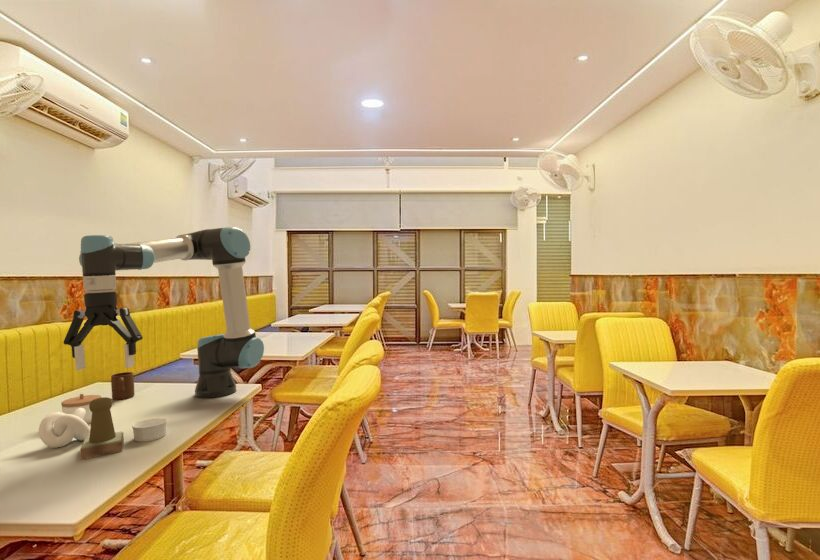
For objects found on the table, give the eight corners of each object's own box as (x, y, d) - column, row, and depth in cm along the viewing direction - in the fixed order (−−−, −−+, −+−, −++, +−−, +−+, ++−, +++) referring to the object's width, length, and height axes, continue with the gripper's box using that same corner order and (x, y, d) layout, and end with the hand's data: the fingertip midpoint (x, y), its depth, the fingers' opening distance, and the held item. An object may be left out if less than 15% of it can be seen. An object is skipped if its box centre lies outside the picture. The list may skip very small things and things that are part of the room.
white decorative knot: (105, 436, 135) (103, 406, 135) (67, 451, 123) (65, 418, 123) (73, 434, 137) (72, 405, 137) (33, 450, 126) (31, 417, 126)
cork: (97, 444, 119) (94, 402, 119) (84, 441, 122) (82, 400, 122) (120, 436, 125) (118, 396, 125) (107, 433, 128) (105, 394, 127)
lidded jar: (81, 428, 143) (80, 399, 143) (53, 427, 145) (52, 398, 145) (110, 417, 154) (109, 390, 153) (84, 417, 156) (82, 389, 156)
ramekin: (135, 435, 135) (134, 420, 135) (169, 430, 138) (168, 416, 138) (130, 445, 127) (129, 429, 127) (166, 439, 130) (165, 424, 130)
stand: (123, 441, 130) (123, 430, 130) (122, 451, 122) (121, 440, 122) (85, 448, 125) (84, 437, 125) (80, 459, 117) (80, 447, 117)
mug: (133, 400, 175) (132, 376, 175) (110, 404, 172) (108, 379, 171) (135, 394, 186) (134, 371, 186) (113, 397, 182) (111, 373, 182)
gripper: (44, 294, 122) (49, 373, 122) (137, 290, 122) (142, 368, 123) (65, 293, 129) (70, 367, 130) (153, 288, 130) (157, 363, 130)
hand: (105, 368), depth 126 cm, fingers open, 13 cm apart
